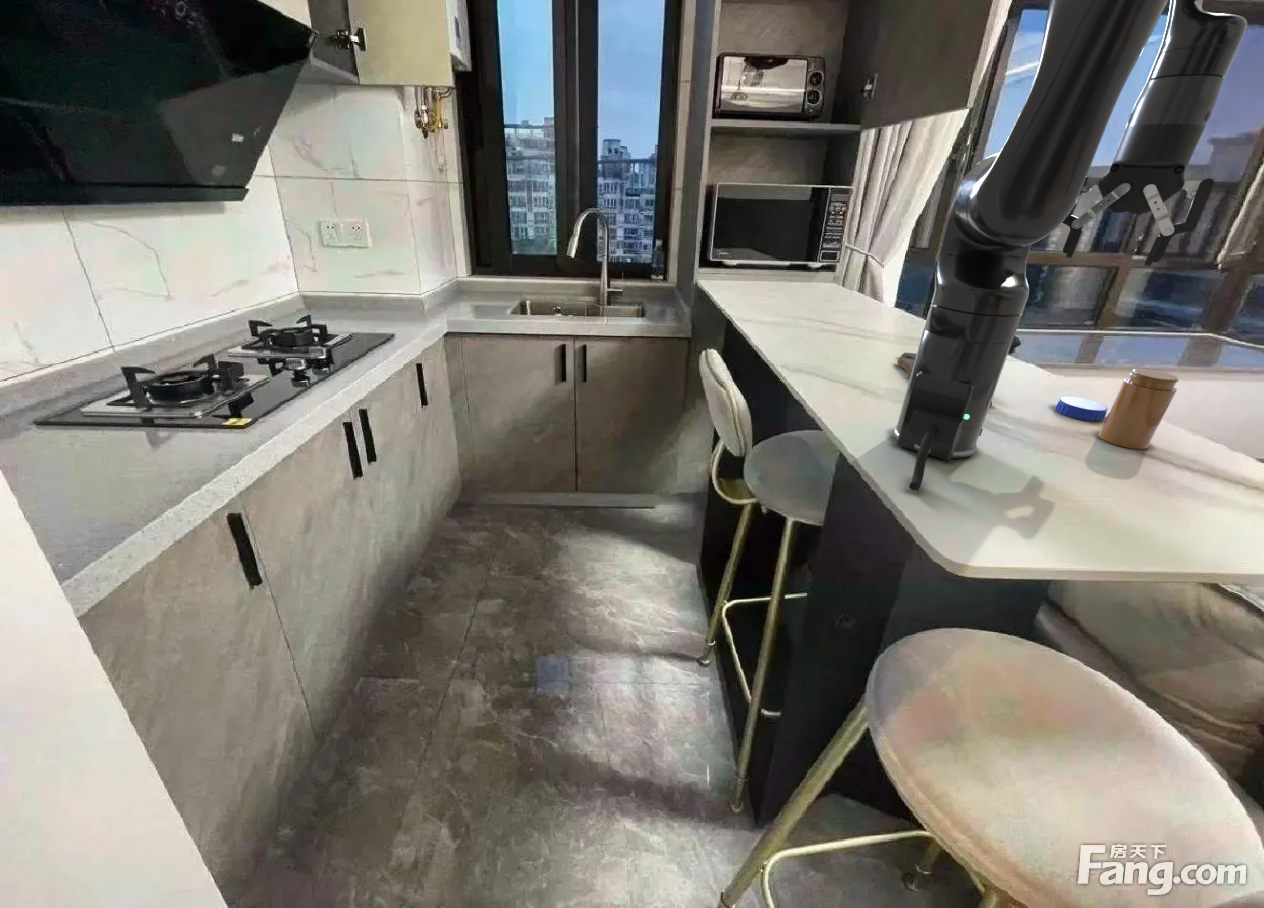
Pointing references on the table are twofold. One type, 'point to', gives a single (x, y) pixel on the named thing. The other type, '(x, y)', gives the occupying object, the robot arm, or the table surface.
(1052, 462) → the table surface
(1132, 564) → the table surface
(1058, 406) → the lid
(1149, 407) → the jar
